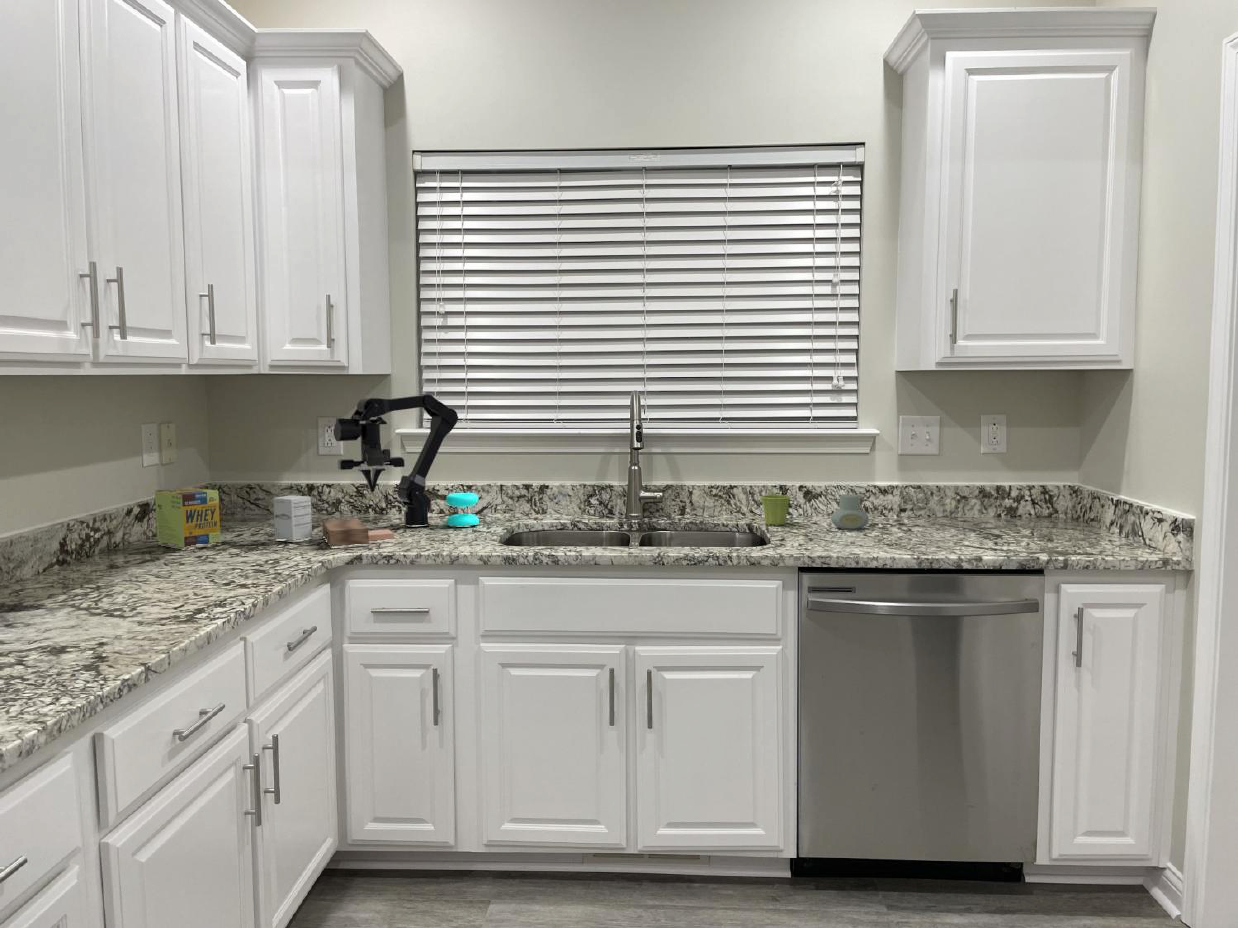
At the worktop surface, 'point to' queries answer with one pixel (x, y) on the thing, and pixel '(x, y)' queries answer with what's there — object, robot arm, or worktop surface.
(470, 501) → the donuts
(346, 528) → the shelf
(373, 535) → the tile
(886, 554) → the worktop surface
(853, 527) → the air freshener
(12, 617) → the worktop surface
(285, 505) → the supplement box
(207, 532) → the protein box
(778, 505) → the plant pot
